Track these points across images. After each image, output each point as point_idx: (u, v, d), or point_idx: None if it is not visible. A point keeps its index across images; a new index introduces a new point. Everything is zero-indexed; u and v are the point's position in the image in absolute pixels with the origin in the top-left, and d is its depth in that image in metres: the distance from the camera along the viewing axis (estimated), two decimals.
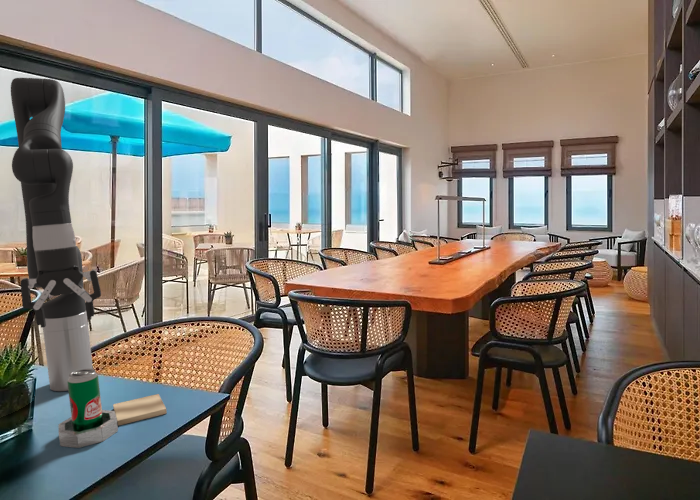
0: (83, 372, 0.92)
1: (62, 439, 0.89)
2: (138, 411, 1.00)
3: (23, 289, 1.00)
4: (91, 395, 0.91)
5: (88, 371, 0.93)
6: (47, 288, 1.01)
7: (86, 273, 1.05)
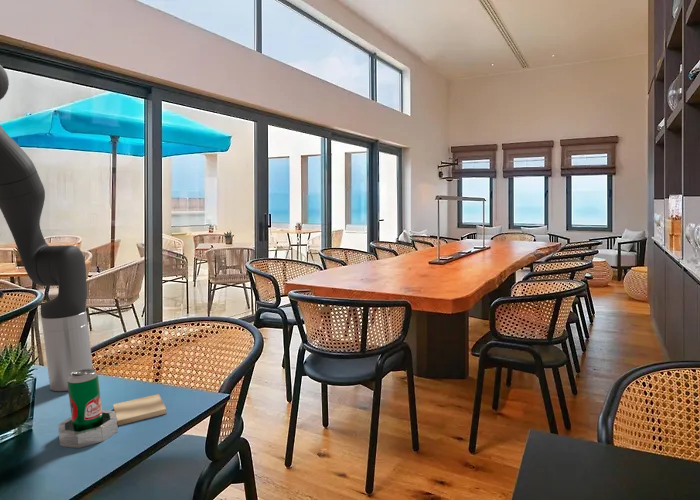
0: (83, 372, 0.92)
1: (62, 439, 0.89)
2: (138, 411, 1.00)
3: None
4: (91, 395, 0.91)
5: (88, 371, 0.93)
6: None
7: None
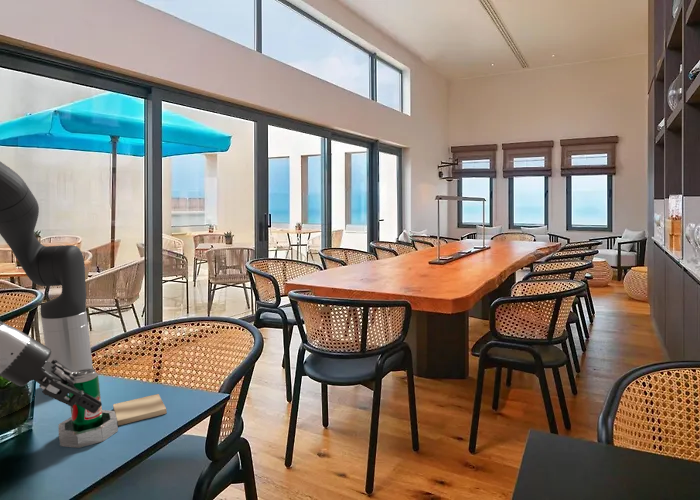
0: (83, 372, 0.92)
1: (62, 439, 0.89)
2: (138, 411, 1.00)
3: None
4: (91, 395, 0.91)
5: (88, 371, 0.92)
6: None
7: None
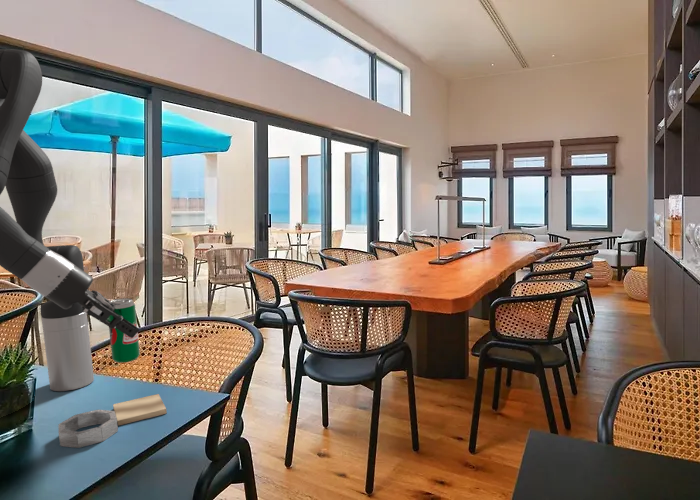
0: (121, 300, 0.98)
1: (62, 439, 0.89)
2: (138, 411, 1.00)
3: None
4: (129, 321, 0.97)
5: (126, 300, 0.99)
6: None
7: None
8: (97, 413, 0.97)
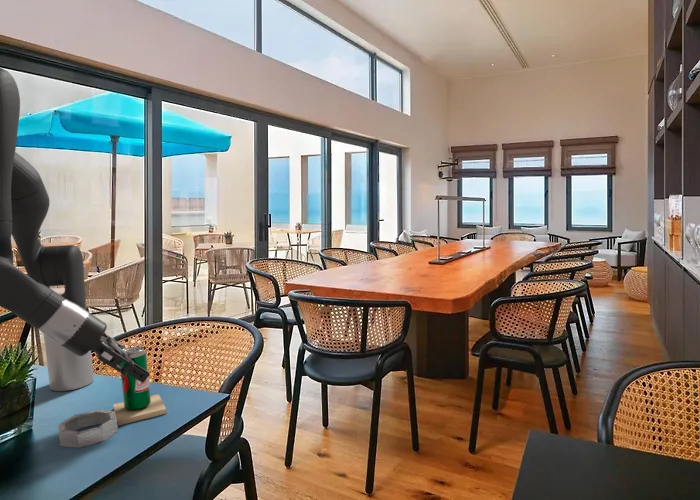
0: (133, 349, 1.01)
1: (62, 439, 0.89)
2: (138, 411, 1.00)
3: None
4: None
5: (137, 348, 1.02)
6: None
7: None
8: (97, 413, 0.97)
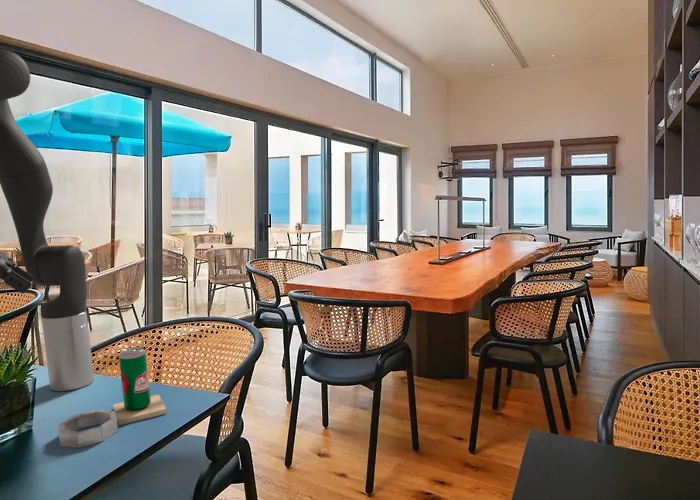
0: (133, 349, 1.01)
1: (62, 439, 0.89)
2: (138, 411, 1.00)
3: None
4: (140, 370, 1.00)
5: (137, 349, 1.01)
6: None
7: None
8: (97, 413, 0.97)
